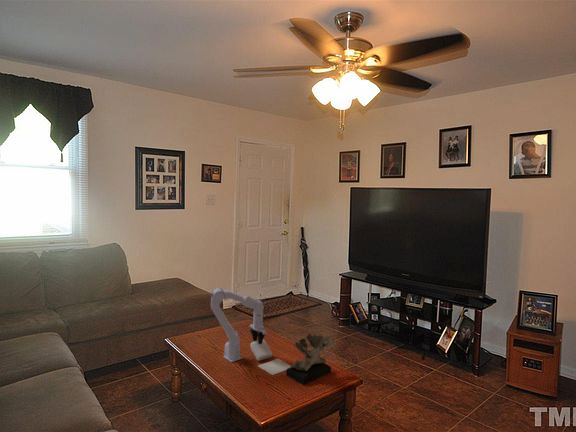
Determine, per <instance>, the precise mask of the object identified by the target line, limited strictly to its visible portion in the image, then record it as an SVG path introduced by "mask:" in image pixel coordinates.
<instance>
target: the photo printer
mask: <svg viewBox="0 0 576 432" xmlns="http://www.w3.org/2000/svg"><path fill="white" fill-rule="evenodd" d="M249 347H250V349H251V351H252V353H253V355H254V357H255V358H256V361H258V362H259V361H263V360H267V359H270V358H271V357H272V356H273V352H272V350H271V348H270V347H269V345H268V343H267V342H266V340H264V339H263V341H262V344H259V343H258V339H257V341H252V342H251V343H250V344H249Z"/></svg>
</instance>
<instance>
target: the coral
mask: <svg viewBox="0 0 576 432" xmlns="http://www.w3.org/2000/svg"><path fill="white" fill-rule="evenodd" d="M306 339H307V340H308V342H309V344H310V346H311V347H312V349H308V343H307V341H306ZM334 343H335V340H334V339H333V338H331V337H330V336H328V337H327V338H324V336H323V335H321V334H318V335H315V333H313V334H311V333H309V334H308V335H306V336H305V338H301V339H299V340H298V341H294V346H295V348H296V349H297V351H299V353H302V354H303V356H304V358H305V360H301V361H300V360H295V361H294V362H293V364H292V365H291V366H292V367H290V368H288V369H287V370H286V373H285V374H286V377H289V378H290V379H292V380H294V381H295V382H297V383H299V384H300V385H302V386H304V385H306V384H309V383H311V382H314V381H315V380H318V379H319V378H321V377H324V376H326V375H329V374H331V373H332V366H331V365H329V364H327V363H326V362H327V360H326V358H325V357H324V356H323V357H322V356H320V352H324V351H326V350H327V349H328V347H329V346H331V345H333V344H334Z"/></svg>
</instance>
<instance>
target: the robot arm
mask: <svg viewBox="0 0 576 432" xmlns="http://www.w3.org/2000/svg"><path fill="white" fill-rule="evenodd" d="M225 300H226V301H227V300H233V301H236V302H240V303H241V305H242V306H245V307H246V308H249V309H252V310H253V320H252V321H253V322H252V323H251V324H249V328H250V330H249V331H250V333H251V336H252V339H253V341H252V342H254V341H257V340H258V343H259V344H262V341H263V340H264V338H265V336H266V335H267V330H266V329H265V326H264V322H263V321H264V309H265V306H264V303H263V302H262V301H261V300H260V299H257V298H253V297H251V295H244V296H243V295H239V294H238V293H234V292H233V291H230V290H228V289H226V288H222V287H220V286H218V287H215V288H214V289H213V290H212V293H211V298H210V309H211V311H212V312H213V315H214V316H215V317H216V319H217V320H218V323H219V324H220V326H221V327H222V328H223V330H224V332H225V334H226V336H227V337H226V338H228V341H226V343H225V344H224V355H223V356H222V357H223V358H224V359H225V360H227V361H229V362H231V363H234V362H236V361H239V360H242V359H243V356H240V355H241V354H240V353H241V351H240V349H241V348H240V345H241V341H240V340H241V339H240V336H239V332H238V330H235V329H234V328H233V326H232V325H231V323H230V321H229V320H228V319H227V316H226V315H225V313H224V311H223V309H222V308H221V303H222V302H223V301H225Z"/></svg>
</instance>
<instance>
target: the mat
mask: <svg viewBox="0 0 576 432" xmlns="http://www.w3.org/2000/svg"><path fill="white" fill-rule="evenodd" d="M292 366H293V365H291V364H290V363H289V364H288V363H287V362H285V361H283V360H281V359H280V358H275V359H273V360H270V361H269V360H268V361H267V362H265V363H260V364H258V365H257V367H258V368H260V369H261V370H263V371H265V372H266V373H268V374H269V375H271V376H275V375H277V374H280V373H283V372H285V371H286V370H287V369H288V368H290V367H292ZM286 372H287V371H286Z"/></svg>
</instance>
